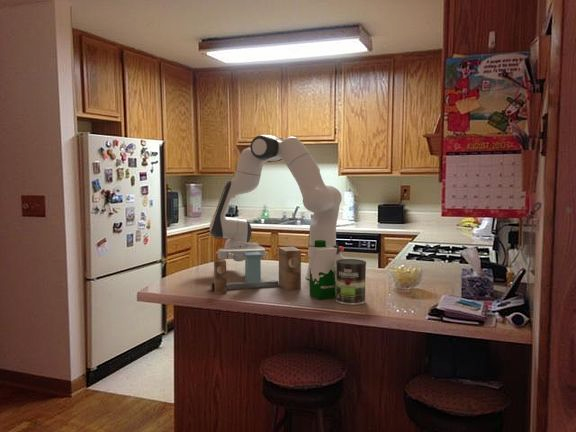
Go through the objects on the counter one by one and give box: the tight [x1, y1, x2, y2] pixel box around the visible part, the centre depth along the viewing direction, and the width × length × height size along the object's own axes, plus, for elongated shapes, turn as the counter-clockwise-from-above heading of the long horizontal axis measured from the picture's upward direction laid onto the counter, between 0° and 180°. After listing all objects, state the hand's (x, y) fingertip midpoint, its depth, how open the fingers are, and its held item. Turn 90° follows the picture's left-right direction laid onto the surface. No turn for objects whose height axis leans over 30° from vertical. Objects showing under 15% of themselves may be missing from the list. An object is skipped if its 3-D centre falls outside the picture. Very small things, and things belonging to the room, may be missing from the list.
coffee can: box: [335, 258, 367, 306], centre depth 171 cm, size 10×10×14 cm
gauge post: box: [213, 259, 228, 295], centre depth 182 cm, size 4×4×12 cm
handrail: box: [210, 279, 279, 292], centre depth 191 cm, size 26×4×3 cm, turn 107°
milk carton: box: [308, 240, 337, 300], centre depth 177 cm, size 9×9×20 cm
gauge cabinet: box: [278, 246, 302, 291], centre depth 192 cm, size 6×11×15 cm, turn 17°
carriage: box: [244, 252, 262, 283], centre depth 191 cm, size 6×6×11 cm
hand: (245, 256), depth 203 cm, fingers open, 8 cm apart
